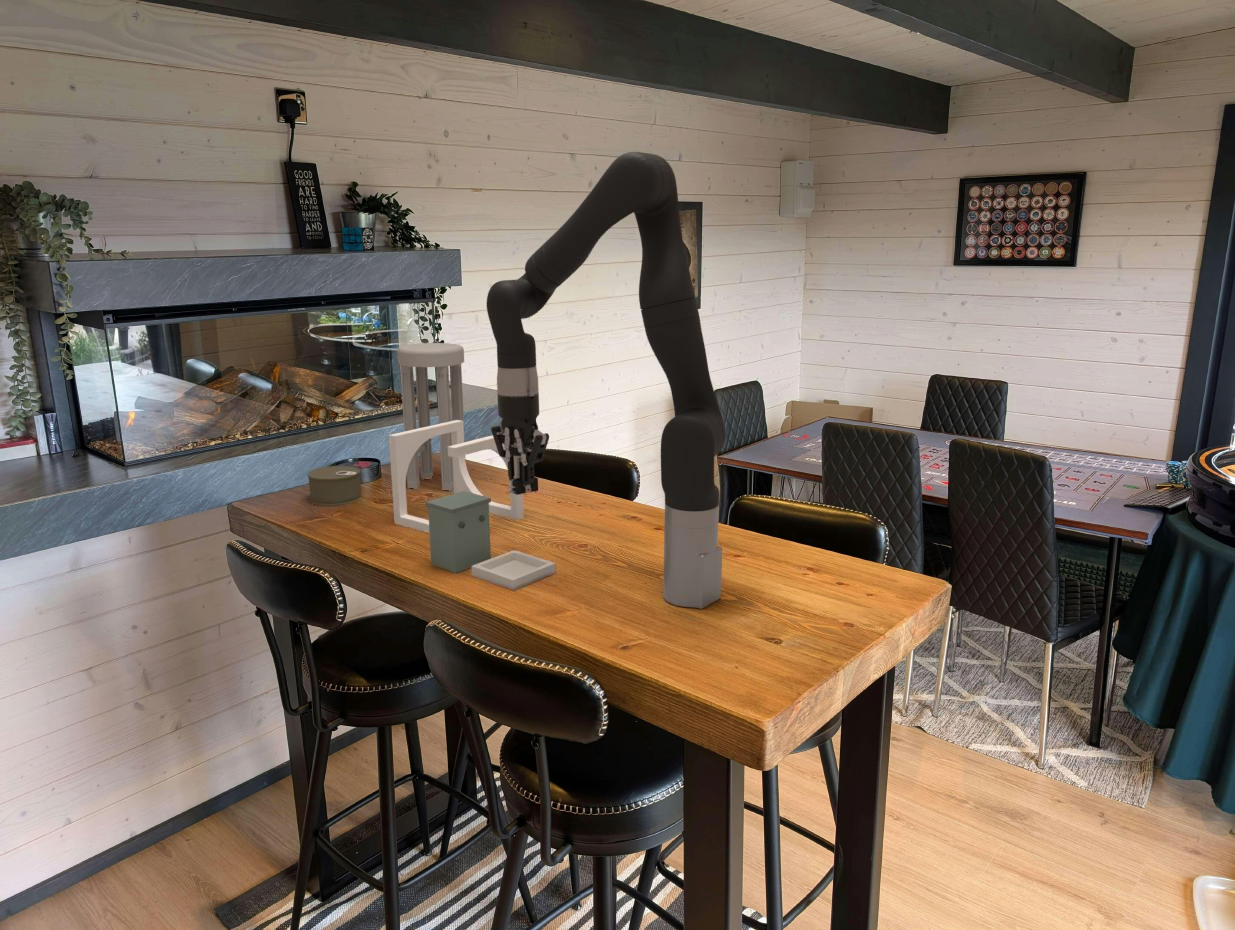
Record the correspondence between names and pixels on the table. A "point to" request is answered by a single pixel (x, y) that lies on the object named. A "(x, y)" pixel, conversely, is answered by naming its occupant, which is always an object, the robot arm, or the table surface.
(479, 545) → the box
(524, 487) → the push button
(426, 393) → the stool
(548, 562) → the tray
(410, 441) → the bookend
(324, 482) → the can
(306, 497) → the table surface
